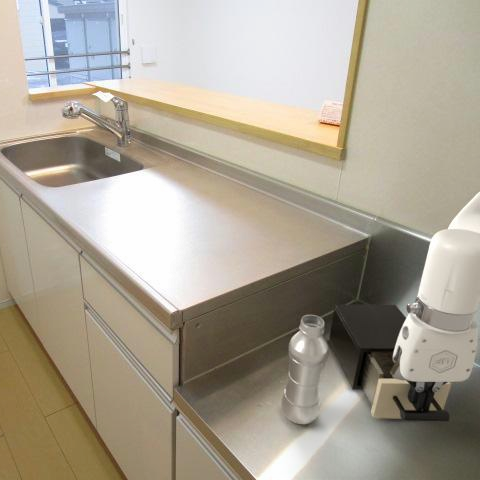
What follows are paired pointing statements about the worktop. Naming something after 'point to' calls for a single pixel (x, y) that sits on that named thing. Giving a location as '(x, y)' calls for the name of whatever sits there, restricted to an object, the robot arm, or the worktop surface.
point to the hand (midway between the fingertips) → (418, 404)
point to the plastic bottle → (305, 371)
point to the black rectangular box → (363, 334)
